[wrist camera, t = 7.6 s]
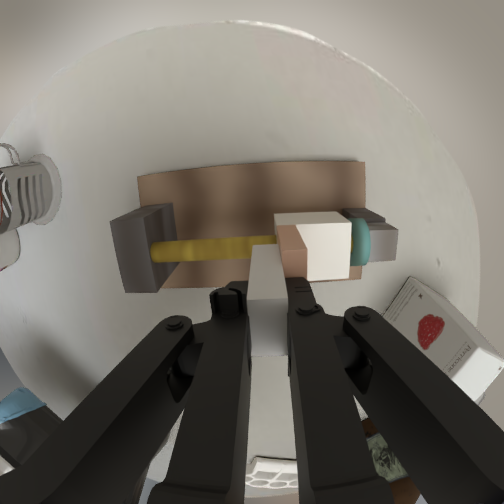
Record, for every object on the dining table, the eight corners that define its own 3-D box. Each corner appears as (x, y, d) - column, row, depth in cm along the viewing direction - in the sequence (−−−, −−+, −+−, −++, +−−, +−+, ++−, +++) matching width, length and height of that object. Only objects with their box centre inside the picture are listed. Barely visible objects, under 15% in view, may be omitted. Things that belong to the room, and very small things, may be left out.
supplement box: (409, 273, 29) (481, 344, 15) (447, 298, 30) (509, 362, 16) (368, 332, 31) (412, 420, 17) (410, 349, 32) (455, 423, 18)
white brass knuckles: (323, 457, 43) (297, 480, 48) (241, 450, 42) (226, 473, 47) (325, 469, 40) (298, 491, 45) (240, 464, 39) (225, 485, 44)
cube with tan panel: (276, 261, 22) (283, 323, 14) (273, 213, 21) (281, 250, 13) (335, 258, 22) (373, 315, 14) (336, 211, 21) (381, 245, 12)
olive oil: (392, 433, 40) (422, 528, 16) (343, 446, 41) (362, 549, 17) (402, 404, 37) (446, 515, 13) (347, 419, 38) (375, 543, 14)
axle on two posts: (161, 280, 30) (125, 327, 21) (145, 175, 26) (93, 185, 17) (355, 271, 29) (389, 318, 20) (358, 161, 25) (404, 164, 16)
